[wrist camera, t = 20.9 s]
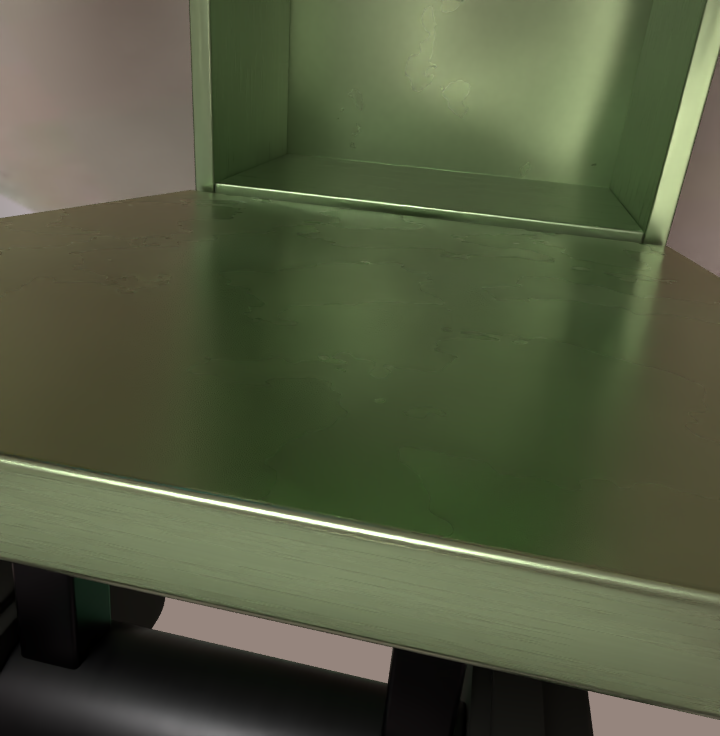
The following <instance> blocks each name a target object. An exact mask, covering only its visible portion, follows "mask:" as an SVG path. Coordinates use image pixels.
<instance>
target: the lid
mask: <svg viewBox="0 0 720 736" xmlns="http://www.w3.org/2000/svg"><path fill="white" fill-rule="evenodd" d="M0 560H1V561H5V562H10V563H12V570H13V580H14V590H15V599H16V609H17V618H18V628H19V638H20V639H19V641H18V642H17V643H16V644H15V646H14V647H13V649H12V650H11V652H10V653H9V655H8V657H7V658H6V660H5V662H4V664H3V665H2V667H1V669H0V736H466V705H465V703H464V702H463V701H461V700H460V699H461V694H462V689H463V683H464V678H465V673H466V667H467V664H470V665H474V666H479V667H483V668H488V669H492V670H497V671H501V672H506V673H510V674H515V675H520V676H524V677H529V678H533V679H538V680H542V681H547V682H551V683H556V684H560V685H565V686H569V687H574V688H578V689H583V690H587V691H592V692H596V693H601V694H606V695H610V696H614V697H619V698H623V699H628V700H632V701H637V702H641V703H646V704H650V705H655V706H659V707H664V708H668V709H673V710H678V711H682V712H687V713H691V714H695V715H700V716H704V717H709V718H713V719H718V720H720V277H718V276H716V275H715V274H713V273H711V272H710V271H708V270H706V269H705V268H703V267H701V266H700V265H698V264H696V263H695V262H693V261H691V260H690V259H688V258H686V257H685V256H683V255H681V254H680V253H678V252H676V251H675V250H673V249H672V248H670V247H668V246H660V245H652V244H643V243H635V242H626V241H618V240H609V239H601V238H592V237H584V236H575V235H567V234H559V233H550V232H542V231H533V230H525V229H516V228H508V227H499V226H491V225H482V224H474V223H465V222H457V221H448V220H440V219H431V218H423V217H415V216H406V215H398V214H389V213H381V212H372V211H364V210H355V209H347V208H338V207H330V206H321V205H313V204H304V203H296V202H287V201H279V200H271V199H262V198H254V197H245V196H237V195H228V194H220V193H211V192H203V191H194V190H187V191H180V192H173V193H167V194H160V195H153V196H146V197H140V198H133V199H126V200H119V201H113V202H106V203H99V204H92V205H86V206H79V207H72V208H65V209H59V210H52V211H45V212H39V213H32V214H25V215H18V216H12V217H5V218H0ZM109 585H114V586H118V587H123V588H127V589H132V590H136V591H141V592H145V593H150V594H154V595H159V596H163V597H168V598H172V599H177V600H181V601H186V602H190V603H195V604H200V605H204V606H208V607H213V608H217V609H222V610H227V611H231V612H235V613H240V614H245V615H249V616H254V617H258V618H263V619H267V620H271V621H276V622H281V623H285V624H290V625H294V626H299V627H303V628H308V629H312V630H317V631H321V632H326V633H331V634H335V635H340V636H344V637H348V638H353V639H358V640H362V641H366V642H371V643H376V644H380V645H385V646H389V647H393V651H392V658H391V665H390V672H389V679H388V684H387V683H383V682H379V681H374V680H370V679H366V678H361V677H357V676H352V675H348V674H344V673H340V672H335V671H331V670H327V669H322V668H318V667H314V666H309V665H305V664H301V663H296V662H292V661H288V660H283V659H279V658H275V657H270V656H266V655H262V654H257V653H253V652H249V651H244V650H240V649H236V648H231V647H227V646H223V645H218V644H214V643H209V642H205V641H201V640H196V639H192V638H188V637H184V636H179V635H175V634H171V633H166V632H161V631H158V630H153V629H149V628H145V627H140V626H136V625H132V624H127V623H123V622H119V621H114V620H111V613H110V591H109Z"/></svg>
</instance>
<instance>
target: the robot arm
mask: <svg viewBox="0 0 720 736" xmlns="http://www.w3.org/2000/svg"><path fill="white" fill-rule="evenodd" d="M109 591H110V613H111V620H114V621H119V622H123V623H127V624H132V625H136V626H140V627H145V628H149V629H152V627H153V626H154V624H155V623H156V621H157V619H158V618H159V616H160V614H161V611H162V609H163V606H164V602H165V597H163V596H159V595H154V594H150V593H145V592H141V591H136V590H132V589H127V588H123V587H118V586H114V585H109ZM19 639H20V638H19V628H18V618H17V609H16V599H15V590H14V580H13V570H12V563H10V562H5V561H1V560H0V669H1V667H2V665H3V664H4V662H5V660H6V658H7V657H8V655H9V653H10V652H11V650H12V649H13V647H14V646H15V644H16V643H17V642H18V641H19ZM460 700H461V701H463V702H464V703H465V705H466V736H593V729H592V721H591V713H590V705H589V699H588V691H587V690H583V689H578V688H574V687H569V686H565V685H560V684H556V683H551V682H547V681H542V680H538V679H533V678H529V677H524V676H520V675H515V674H510V673H506V672H501V671H497V670H492V669H488V668H483V667H479V666H474V665H470V664H467V667H466V673H465V678H464V683H463V689H462V694H461V699H460Z"/></svg>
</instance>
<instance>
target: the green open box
mask: <svg viewBox="0 0 720 736" xmlns="http://www.w3.org/2000/svg"><path fill="white" fill-rule="evenodd" d="M189 15H190V43H191V71H192V99H193V127H194V155H195V183H196V191H203V192H211V193H220V194H228V195H237V196H245V197H254V198H262V199H271V200H279V201H287V202H296V203H304V204H313V205H321V206H330V207H338V208H347V209H355V210H364V211H372V212H381V213H389V214H398V215H406V216H415V217H423V218H431V219H440V220H448V221H457V222H465V223H474V224H482V225H491V226H499V227H508V228H516V229H525V230H533V231H542V232H550V233H559V234H567V235H575V236H584V237H592V238H601V239H609V240H618V241H626V242H635V243H643V244H652V245H660V246H666V243H667V240H668V236H669V232H670V229H671V225H672V222H673V218H674V215H675V211H676V207H677V204H678V200H679V197H680V193H681V189H682V186H683V182H684V179H685V175H686V172H687V168H688V164H689V161H690V157H691V154H692V150H693V146H694V143H695V139H696V136H697V132H698V129H699V125H700V121H701V118H702V114H703V111H704V107H705V103H706V100H707V96H708V93H709V89H710V86H711V82H712V78H713V75H714V71H715V68H716V64H717V60H718V57H719V53H720V0H189Z"/></svg>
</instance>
